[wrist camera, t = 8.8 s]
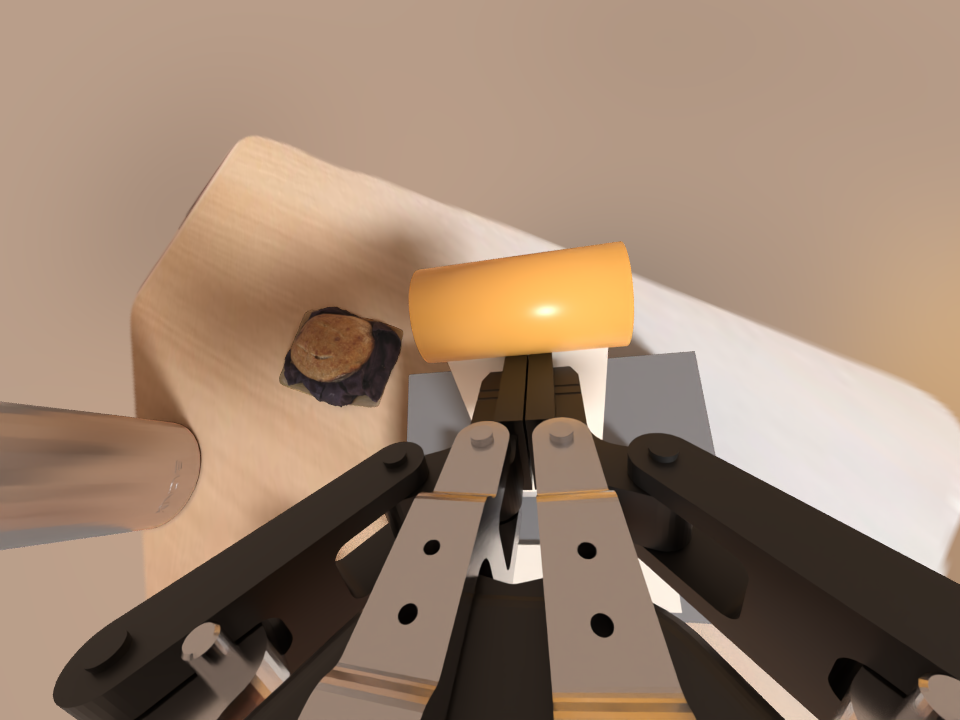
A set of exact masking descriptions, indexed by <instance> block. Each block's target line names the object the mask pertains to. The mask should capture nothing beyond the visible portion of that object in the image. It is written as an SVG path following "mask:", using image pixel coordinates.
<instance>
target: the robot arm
mask: <svg viewBox="0 0 960 720" xmlns="http://www.w3.org/2000/svg"><path fill="white" fill-rule="evenodd" d="M479 391H480V392H479V394H478V398H477V399H478V400H477V402H476V405H475V409H474V413H473V417H472V420H471V424H470V425H468V426H467V427H465V428H463V429H462V430H461V431H460V432H459V433H458V434H457V436H456V438H455V440H454V443H453V445H452V447H450V448H448V449H445V450H442V451H438V452H434V453H430V454H427V455H424V452H423V449H422V448H421V446H419V445H418V444H416V443H413V442H399V443H395V444H392V445H389V446H387V447H385V448H383V449H381V450H380V451H378V452H377V453H375V454H374V455H372V456H371V457H369V458H367V459H366V460H364V461H363V462H361V463H360V464H358V465H356V466H355V467H353V468H352V469H350V470H349V471H347V472H346V473H344V474H342V475H341V476H339V477H338V478H336V479H335V480H333V481H332V482H330V483H328V484H327V485H325V486H324V487H322V488H321V489H319V490H317V491H316V492H314V493H313V494H311V495H310V496H308V497H307V498H305V499H303V500H302V501H300V502H299V503H297V504H296V505H294V506H293V507H291V508H289V509H288V510H286V511H285V512H283V513H282V514H280V515H278V516H277V517H275V518H274V519H272V520H271V521H269V522H268V523H266V524H264V525H263V526H261V527H260V528H258V529H257V530H255V531H254V532H252V533H250V534H249V535H247V536H246V537H244V538H243V539H241V540H239V541H238V542H236V543H235V544H233V545H232V546H230V547H229V548H227V549H225V550H224V551H222V552H221V553H219V554H218V555H216V556H215V557H213V558H211V559H210V560H208V561H207V562H205V563H204V564H202V565H200V566H199V567H197V568H196V569H194V570H193V571H191V572H190V573H188V574H186V575H185V576H183V577H182V578H180V579H179V580H177V581H176V582H174V583H172V584H171V585H169V586H168V587H166V588H165V589H163V590H161V591H160V592H158V593H157V594H155V595H154V596H152V597H151V598H149V599H147V600H146V601H144V602H143V603H141V604H140V605H138V606H137V607H135V608H133V609H132V610H130V611H129V612H127V613H126V614H124V615H123V616H121V617H119V618H118V619H116V620H115V621H113V622H112V623H110V624H109V625H107V626H106V627H104V628H103V629H102V630H100V631H99V632H98V633H96V634H95V635H94V636H93V637H92V638H91V639H89V640H88V641H87V642H86V643H85V644H84V645H83V646H82V647H81V648H80V649H79V650H78V651H77V652H76V654H75V655H74V656H73V657H72V658H71V659H70V661H69V662H68V663H67V665H66V666H65V667H64V669H63V670H62V672H61V674H60V676H59V677H58V679H57V681H56V684H55V687H54V691H53V698H54V702H55V703H56V705H58V706H59V707H60V708H62V709H63V710H65V711H66V712H67V713H69V714H70V715H72V716H73V717H75V718H76V719H77V720H785V719H784V718H783V717H782V716H781V715H780V714H779V713H778V712H777V711H776V710H775V709H774V708H773V707H772V706H771V705H770V704H769V703H768V702H767V701H766V700H765V699H764V698H763V697H762V696H761V695H760V694H759V693H758V692H757V691H756V690H755V689H754V688H753V687H752V686H751V685H750V684H749V683H748V682H747V681H746V680H745V679H744V678H743V677H742V676H741V675H740V674H739V673H738V672H737V671H736V670H735V669H734V668H733V667H732V666H731V665H730V664H729V663H728V662H726V661H725V660H724V659H723V658H722V657H721V656H720V655H719V654H718V653H717V652H716V651H715V650H714V649H713V648H712V647H711V646H710V645H709V644H708V643H707V642H706V641H705V640H704V639H703V638H702V637H701V636H700V635H699V634H698V633H697V632H696V631H694V630H693V629H692V628H691V627H689V626H688V625H687V624H686V623H684V622H683V621H682V620H681V619H679V618H678V617H676V616H675V615H673V614H672V613H670V612H669V611H667V610H665V609H664V608H662V607H660V606H658V605H656V604H654V603H653V602H652V599H651V596H650V593H649V590H648V587H647V584H646V581H645V578H644V575H643V572H642V569H641V566H640V563H639V560H638V558H639V559H640V560H641V561H642V562H643V563H644V564H646V565H647V566H648V567H649V568H650V569H651V570H652V571H653V572H655V573H656V574H657V575H658V576H659V577H660V578H661V579H662V580H663V581H665V582H666V583H667V584H668V585H669V586H670V587H671V588H672V589H674V590H675V591H676V592H677V593H678V594H679V595H680V596H681V597H682V598H684V599H685V600H686V601H687V602H688V603H689V604H690V605H691V606H692V607H694V608H695V609H696V610H697V611H698V612H699V613H700V614H701V615H703V616H704V617H705V618H706V619H707V620H708V621H709V622H710V623H711V624H713V625H714V626H715V627H716V628H717V629H718V630H719V631H720V632H722V633H723V634H724V635H725V636H726V637H727V638H728V639H729V640H730V641H732V642H733V643H734V644H735V645H736V646H737V647H738V648H739V649H740V650H742V651H743V652H744V653H745V654H746V655H747V656H748V657H749V658H751V659H752V660H753V661H754V662H755V663H756V664H757V665H758V666H759V667H761V668H762V669H763V670H764V671H765V672H766V673H767V674H768V675H770V676H771V677H772V678H773V679H774V680H775V681H776V682H777V683H778V684H780V685H781V686H782V687H783V688H784V689H785V690H786V691H787V692H788V693H790V694H791V695H792V696H793V697H794V698H795V699H796V700H797V701H799V702H800V703H801V704H802V705H803V706H804V707H805V708H806V709H807V710H809V711H810V712H811V713H812V714H813V715H814V716H815V717H816V718H818V719H819V720H960V584H958V583H956V582H954V581H952V580H950V579H948V578H947V577H945V576H943V575H941V574H939V573H937V572H935V571H933V570H931V569H929V568H928V567H926V566H924V565H922V564H920V563H918V562H916V561H914V560H912V559H910V558H909V557H907V556H905V555H903V554H901V553H899V552H897V551H895V550H893V549H891V548H890V547H888V546H886V545H884V544H882V543H880V542H878V541H876V540H874V539H872V538H871V537H869V536H867V535H865V534H863V533H861V532H859V531H857V530H855V529H853V528H852V527H850V526H848V525H846V524H844V523H842V522H840V521H838V520H836V519H834V518H833V517H831V516H829V515H827V514H825V513H823V512H821V511H819V510H817V509H815V508H814V507H812V506H810V505H808V504H806V503H804V502H802V501H800V500H798V499H796V498H795V497H793V496H791V495H789V494H787V493H785V492H783V491H781V490H779V489H777V488H775V487H774V486H772V485H770V484H768V483H766V482H764V481H762V480H760V479H758V478H756V477H755V476H753V475H751V474H749V473H747V472H745V471H743V470H741V469H739V468H737V467H736V466H734V465H732V464H730V463H728V462H726V461H724V460H722V459H720V458H718V457H717V456H715V455H713V454H711V453H709V452H707V451H705V450H703V449H701V448H699V447H698V446H696V445H694V444H692V443H690V442H688V441H686V440H684V439H682V438H680V437H677V436H674V435H671V434H665V433H648V434H643V435H640V436H638V437H636V438H635V439H633V440H632V441H631V442H630V444H629V446H622V445H617V444H613V443H609V442H606V441H604V440H602V439H600V438H598V437H596V436H595V435H594V434H593V433H592V432H591V431H590V429H589V428H588V425H587V421H586V415H585V409H584V404H583V398H582V393H581V386H580V381H579V375H578V373H577V372H576V371H575V370H574V369H573V368H571V367H570V366H565V367H553V359H552V353H541V354H530V355H529V360H528V355H518V356H507V357H505V360H504V366H503V371H499V372H490V373H489V374H488V375H487V376H486V377H485V378H484V379H483V380H482V383H481V386H480V390H479ZM199 469H200V452H199V447H198V443H197V441H196V439H195V437H194V435H193V434H192V433H191V432H190V431H189V429H187V428H186V427H184V426H183V425H181V424H177V423H174V422H166V421H158V420H149V419H141V418H133V417H126V416H117V415H109V414H101V413H92V412H84V411H75V410H67V409H59V408H49V407H42V406H33V405H25V404H17V403H8V402H0V550H6V549H12V548H20V547H26V546H34V545H40V544H48V543H54V542H62V541H69V540H76V539H83V538H89V537H97V536H105V535H112V534H118V533H126V532H132V531H140V530H147V529H152V528H157V527H159V526H161V525H163V524H165V523H167V522H168V521H170V520H171V519H172V518H174V517H175V516H176V515H177V514H178V513H179V512H180V511H181V510H182V509H183V507H184V506H185V504H186V503H187V501H188V500H189V498H190V497H191V495H192V492H193V490H194V488H195V486H196V482H197V479H198V476H199ZM533 480H534V487H535V490H537V495H536V500H537V513H538V525H539V537H540V549H541V561H542V573H543V578H540V579H536V580H532V581H527V582H523V583H518V584H513V577H514V570H515V563H516V556H517V549H518V542H519V535H520V528H521V521H522V509H521V505H522V498H523V490H532V485H533ZM383 514H385V515H386V518H387V520H388V524H387V525H385V526H384V527H383V528H381V529H380V530H379V531H378V532H376V533H375V534H374V535H372V536H371V537H370V538H369V539H367V540H366V541H365V542H363V543H362V544H361V545H360V546H358V547H357V548H356V549H354V550H353V551H352V552H351V553H349V554H348V555H347V556H345V557H344V558H343V559H341V560H339V561H335V560H336V556H337V553H338V552H339V550H340V549H341V547H342V546H343V545H344V544H345V543H347V542H348V541H349V540H350V539H352V538H353V537H354V536H356V535H357V534H358V533H360V532H361V531H362V530H364V529H365V528H366V527H368V526H369V525H370V524H372V523H373V522H374V521H376V520H377V519H378V518H380V517H381V516H382V515H383Z"/></svg>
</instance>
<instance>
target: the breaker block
mask: <svg viewBox="0 0 960 720" xmlns="http://www.w3.org/2000/svg"><path fill="white" fill-rule="evenodd" d="M470 424H471V418H470V416H469V413H468V411H467V408H466V406H465V403H464V401H463V399H462V396H461V394H460V391H459V389H458V386H457V384H456V382H455V379H454V377H453V374H452V372H451V371H448V372H436V373H424V374H412V375H409V391H408V426H407V442H413V443H416V444H418V445H419V446H421V448H422V449H423V452H424V455H427V454H430V453H434V452H438V451H442V450H445V449H448V448H450V447H452V445H453V443H454V440H455V438H456V436H457V434H458V433H459V432H460V431H461V430H462V429H463V428H465V427H467V426H468V425H470ZM648 433H665V434H671V435H674V436H677V437H680V438H682V439H684V440H686V441H688V442H690V443H692V444H694V445H696V446H698V447H699V448H701V449H703V450H705V451H707V452H709V453H711V454H713V455H715V451H714V446H713V441H712V436H711V431H710V426H709V421H708V416H707V411H706V406H705V400H704V395H703V390H702V385H701V380H700V375H699V370H698V365H697V360H696V355H695V351H691V352H679V353H667V354H655V355H643V356H631V357H618V358H608V360H607V375H606V391H605V407H604V422H603V438H602V440H604V441H606V442H609V443H613V444H617V445H622V446H629V444H630V442H631V441H632V440H633V439H635V438H636V437H638V436H640V435H643V434H648ZM521 509H522V521H521V528H520V535H519V542H518V549H517V556H516V563H515V570H514V577H513V584H518V583H523V582H527V581H532V580H536V579H540V578H543V573H542V561H541V549H540V537H539V525H538V513H537V500H536V497H523V498H522V505H521ZM638 560H639V563H640V566H641V569H642V572H643V575H644V578H645V581H646V584H647V587H648V590H649V593H650V596H651V599H652V602H653V603H654V604H656V605H658V606H660V607H662V608H664V609H665V610H667V611H669V612H670V613H672V614H673V615H675V616H676V617H678V618H679V619H681V620H682V621H683V622H686V623H707V624H711V623H710V622H709V621H708V620H707V619H706V618H705V617H704V616H703V615H701V614H700V613H699V612H698V611H697V610H696V609H695V608H694V607H692V606H691V605H690V604H689V603H688V602H687V601H686V600H685V599H684V598H682V597H681V596H680V595H679V594H678V593H677V592H676V591H675V590H674V589H672V588H671V587H670V586H669V585H668V584H667V583H666V582H665V581H663V580H662V579H661V578H660V577H659V576H658V575H657V574H656V573H655V572H653V571H652V570H651V569H650V568H649V567H648V566H647V565H646V564H644V563H643V562H642V561H641V560H640V559H639V558H638Z"/></svg>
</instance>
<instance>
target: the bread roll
mask: <svg viewBox="0 0 960 720" xmlns="http://www.w3.org/2000/svg"><path fill="white" fill-rule="evenodd" d="M402 336H403V331H402V330H401V329H398V328H397V327H394V326H391V325H388V324H384V323H382V322H377V321H374V320H372V319H368V318H361V317H358V316H356V315H354V314H351V313H350V312H348V311H346V310H341V309H340V308H338V307H327V308H324V309H320V310H318V311H314V310H310V311H308V312H306V313H305V315H304V317H303V319H302V322H301V325H300V327H299V330H298V332H297V334H296V336H295V339H294V342H293V344H292V347H291V349H290V350H289V352H288V353H287V355H286V357H285V363H284V367H283V370H282V372H281V375H280V377H279V381H280V383H281V384H282V385H284V386H287V387H289V388H291V389H295V390H297V391H300V392H303V393H306V394H308V395H311V396H314V397H315V398H316V399H317V400H318V401H320V402H321V401H324V402H327V403H328V404H331V405H334V406H340V407H342V406H344V405H354V406H363V407H377V406H378V405H379V404H380V400H381V398H382V395H383V393H384V389H385V386H386V384H387V382H388V379H389V376H390V373H391V370H392V369H393V367H394V365H395V364H396V362H397V359H398V356H399V354H400V347H401V340H402Z"/></svg>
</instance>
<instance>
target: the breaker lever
mask: <svg viewBox="0 0 960 720" xmlns="http://www.w3.org/2000/svg"><path fill="white" fill-rule="evenodd" d="M409 314H410V322H411V327H412V332H413V336H414V339H415V342H416V345H417V348H418V350H419V352H420V354H421V356H422V357H423V359H424V360H425V361H426V362H428V363H439V362H448V365H449V367H450V369H451V372H452V374H453V377H454V379H455V382H456V384H457V386H458V389H459V391H460V394H461V396H462V399H463V401H464V403H465V406H466V408H467V411H468V413H469V416H470V418H471V420H472V417H473V413H474V409H475V405H476V402H477V400H478V399H477V398H478V394H479V392H480V391H479V390H480V386H481V383H482V380H483V379H484V378H485V377H486V376H487V375H488V374H489V373H490V372H499V371H503V366H504V360H505V357H507V356H518V355H528V360H529V355H530V354H541V353H552V359H553V367H565V366H570V367H571V368H573V369H574V370H575V371H576V372H577V373H578V375H579V381H580V386H581V393H582V398H583V404H584V409H585V415H586V421H587V425H588V428H589V429H590V431H591V432H592V433H593V434H594V435H595V436H596V437H598V438H600V439H602V438H603V422H604V407H605V391H606V375H607V360H608V348H610V347H621V346H628V345H629V344H630V341H631V338H632V332H633V323H634V295H633V282H632V273H631V267H630V261H629V257H628V254H627V250H626V247H625V245H624V244H623V242H621V241H619V242H612V243H605V244H599V245H591V246H584V247H577V248H570V249H562V250H555V251H548V252H541V253H534V254H527V255H520V256H512V257H505V258H498V259H491V260H484V261H477V262H470V263H463V264H455V265H448V266H441V267H434V268H427V269H420V270H417V271H415V273H414V274H413V276H412V279H411V283H410V288H409ZM536 495H537V490H535V487H534V480H533V485H532V490H523V497H536Z"/></svg>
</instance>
